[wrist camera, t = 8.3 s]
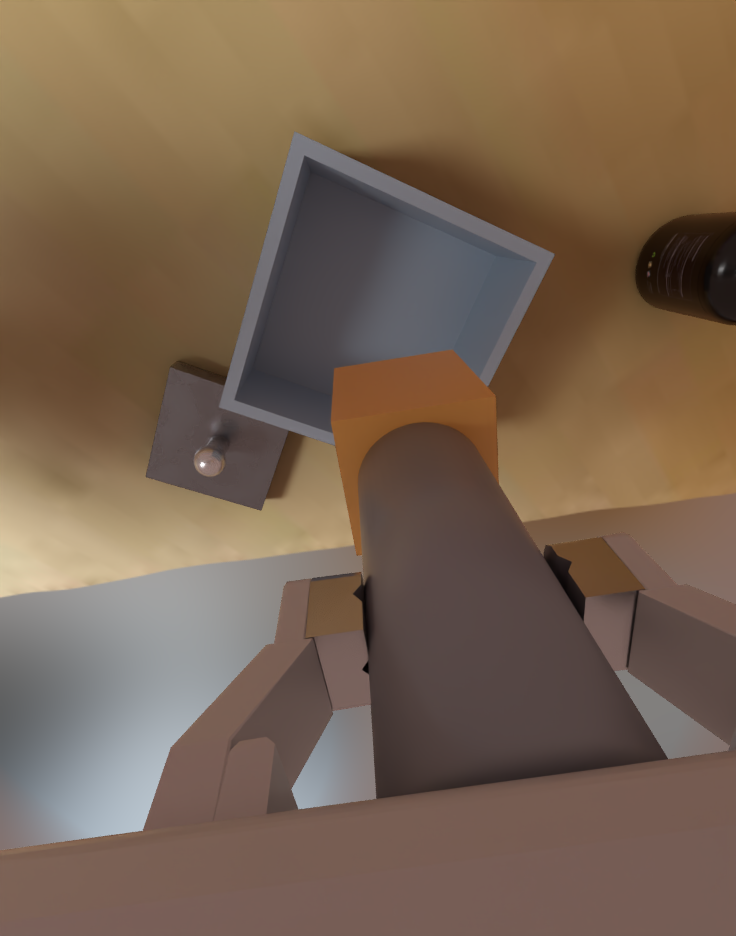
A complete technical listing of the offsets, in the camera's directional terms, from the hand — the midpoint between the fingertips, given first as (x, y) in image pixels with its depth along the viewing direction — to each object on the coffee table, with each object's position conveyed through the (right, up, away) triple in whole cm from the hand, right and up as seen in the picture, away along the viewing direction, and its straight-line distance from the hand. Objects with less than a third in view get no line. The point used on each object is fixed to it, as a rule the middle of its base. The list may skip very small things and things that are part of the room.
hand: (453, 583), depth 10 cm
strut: (0, +4, +9) cm, 10 cm away
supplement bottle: (+22, +18, +28) cm, 41 cm away
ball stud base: (-14, +5, +32) cm, 35 cm away
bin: (-2, +15, +28) cm, 32 cm away
